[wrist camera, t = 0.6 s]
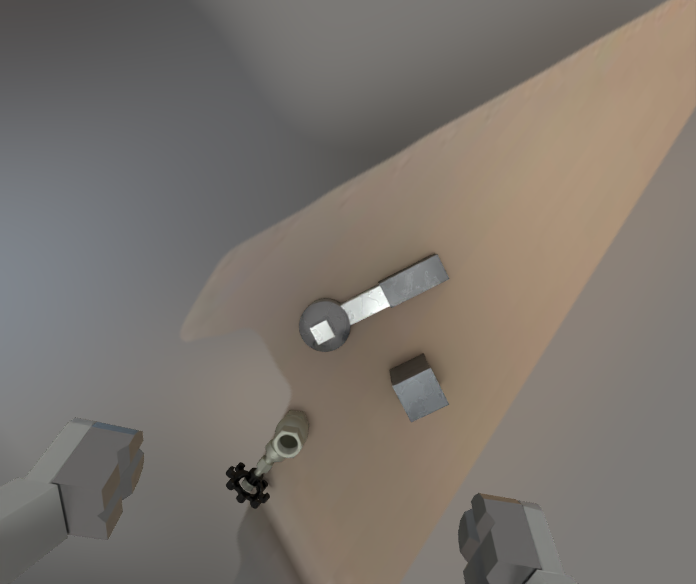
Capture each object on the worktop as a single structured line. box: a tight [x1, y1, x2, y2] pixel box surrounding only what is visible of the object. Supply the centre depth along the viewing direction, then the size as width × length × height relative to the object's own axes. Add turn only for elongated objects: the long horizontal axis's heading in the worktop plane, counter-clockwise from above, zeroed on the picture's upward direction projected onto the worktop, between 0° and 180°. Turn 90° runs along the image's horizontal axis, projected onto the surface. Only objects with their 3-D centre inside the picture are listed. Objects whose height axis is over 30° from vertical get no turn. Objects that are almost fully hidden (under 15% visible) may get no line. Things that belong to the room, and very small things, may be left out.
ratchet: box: [299, 254, 449, 352], centre depth 55 cm, size 6×20×6 cm, turn 117°
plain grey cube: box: [389, 354, 449, 422], centre depth 56 cm, size 5×5×6 cm
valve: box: [226, 410, 309, 509], centre depth 58 cm, size 7×7×12 cm
